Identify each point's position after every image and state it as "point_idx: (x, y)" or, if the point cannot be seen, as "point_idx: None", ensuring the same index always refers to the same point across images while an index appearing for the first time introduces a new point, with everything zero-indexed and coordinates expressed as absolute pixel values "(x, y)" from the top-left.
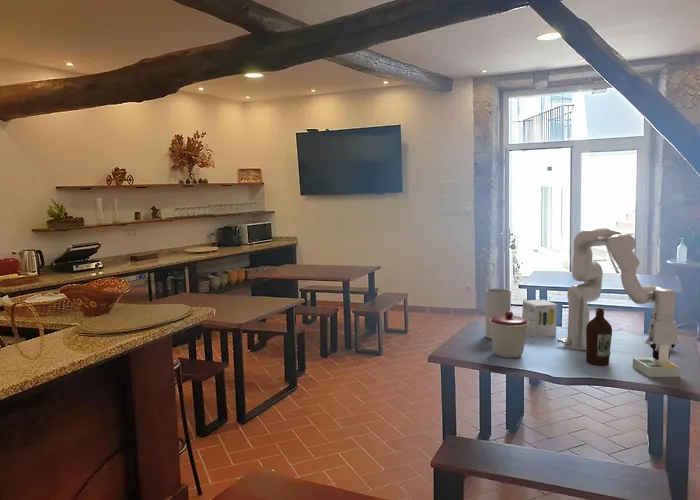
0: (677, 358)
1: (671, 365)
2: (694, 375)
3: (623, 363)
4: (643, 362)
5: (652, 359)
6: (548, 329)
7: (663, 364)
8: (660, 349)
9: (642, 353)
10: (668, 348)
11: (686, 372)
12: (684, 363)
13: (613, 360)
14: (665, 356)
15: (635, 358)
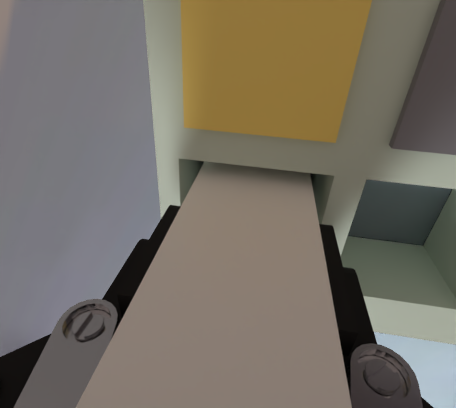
0: (31, 326)
1: (239, 35)
2: (12, 8)
3: None
4: (380, 275)
5: None
6: None
7: (330, 96)
8: (324, 350)
9: None
10: (128, 340)
11: (59, 103)
12: (16, 265)
13: (436, 376)
14: (220, 228)
15: (451, 331)
